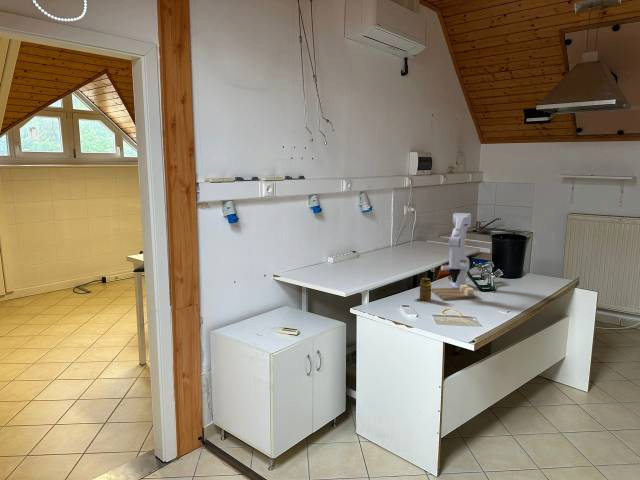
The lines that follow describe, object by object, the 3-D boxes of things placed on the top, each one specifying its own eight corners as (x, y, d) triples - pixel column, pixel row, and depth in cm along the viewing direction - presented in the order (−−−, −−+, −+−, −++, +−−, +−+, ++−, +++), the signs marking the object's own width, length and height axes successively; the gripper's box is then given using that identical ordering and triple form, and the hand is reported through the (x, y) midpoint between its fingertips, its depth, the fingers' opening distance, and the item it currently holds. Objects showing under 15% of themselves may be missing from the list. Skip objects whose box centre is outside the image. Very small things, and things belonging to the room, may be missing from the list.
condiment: (434, 300, 260) (434, 278, 257) (425, 303, 254) (425, 281, 252) (422, 297, 265) (423, 276, 263) (413, 300, 259) (414, 279, 257)
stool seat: (431, 291, 276) (431, 288, 276) (461, 289, 278) (461, 286, 278) (443, 300, 258) (443, 297, 258) (474, 298, 261) (475, 295, 260)
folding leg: (458, 289, 272) (458, 284, 272) (464, 288, 273) (464, 283, 272) (467, 294, 261) (467, 289, 261) (473, 294, 262) (473, 289, 261)
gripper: (444, 260, 256) (444, 284, 258) (470, 259, 257) (469, 283, 260) (440, 257, 263) (439, 281, 265) (465, 256, 264) (464, 280, 267)
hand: (454, 282), depth 263 cm, fingers closed
